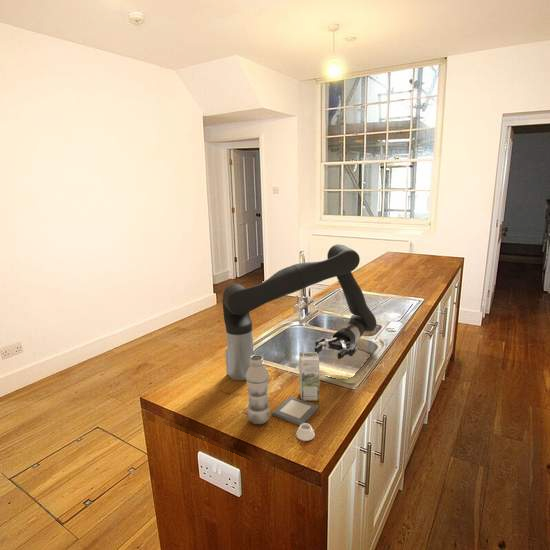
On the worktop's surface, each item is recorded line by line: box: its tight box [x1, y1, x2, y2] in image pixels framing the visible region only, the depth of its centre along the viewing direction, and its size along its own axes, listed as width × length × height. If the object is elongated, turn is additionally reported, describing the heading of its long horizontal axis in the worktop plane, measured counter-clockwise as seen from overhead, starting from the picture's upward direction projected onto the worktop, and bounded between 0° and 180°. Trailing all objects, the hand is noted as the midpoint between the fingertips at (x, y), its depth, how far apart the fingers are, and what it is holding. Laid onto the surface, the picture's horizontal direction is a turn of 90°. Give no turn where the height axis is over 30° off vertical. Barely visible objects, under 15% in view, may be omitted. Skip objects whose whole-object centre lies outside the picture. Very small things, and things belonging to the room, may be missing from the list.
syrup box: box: [298, 351, 320, 402], centre depth 121 cm, size 6×6×14 cm
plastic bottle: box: [245, 354, 271, 425], centre depth 109 cm, size 6×7×20 cm
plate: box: [272, 396, 319, 426], centre depth 115 cm, size 10×10×1 cm
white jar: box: [295, 422, 316, 442], centre depth 104 cm, size 5×3×5 cm
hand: (327, 353), depth 130 cm, fingers open, 8 cm apart
